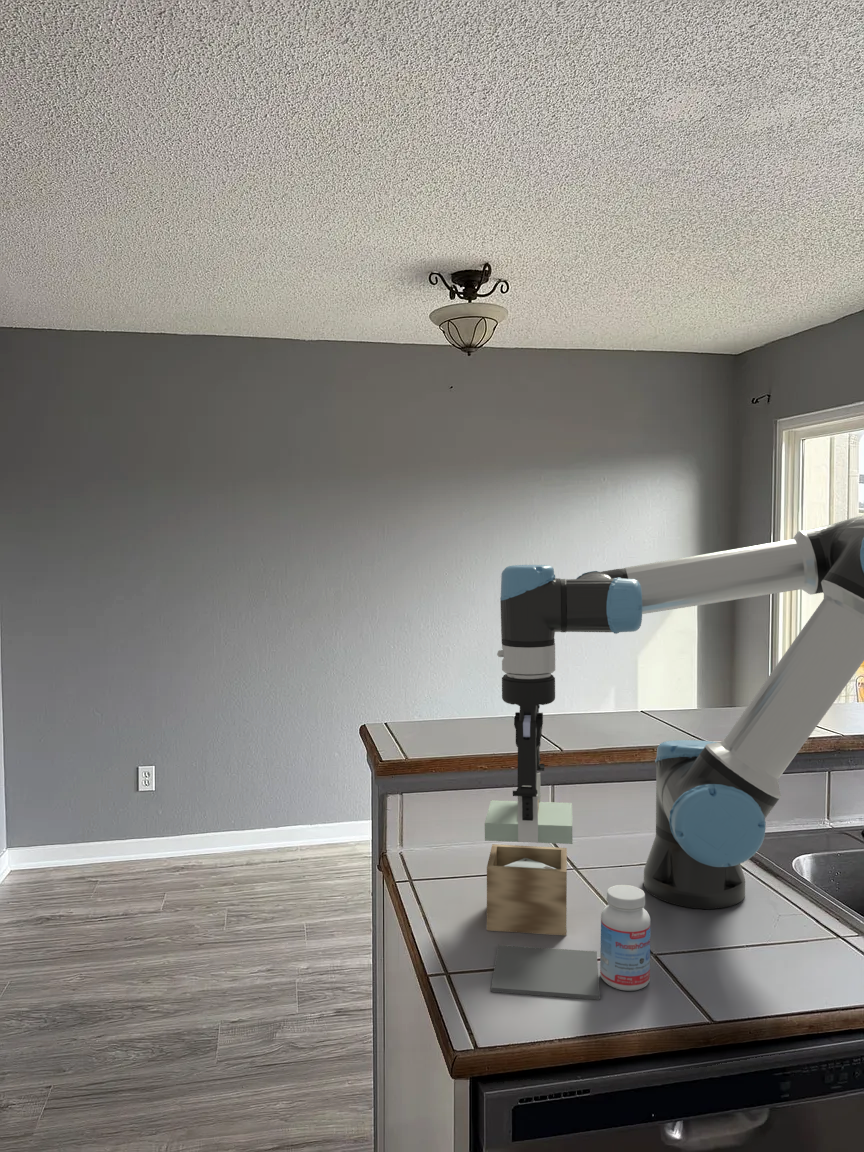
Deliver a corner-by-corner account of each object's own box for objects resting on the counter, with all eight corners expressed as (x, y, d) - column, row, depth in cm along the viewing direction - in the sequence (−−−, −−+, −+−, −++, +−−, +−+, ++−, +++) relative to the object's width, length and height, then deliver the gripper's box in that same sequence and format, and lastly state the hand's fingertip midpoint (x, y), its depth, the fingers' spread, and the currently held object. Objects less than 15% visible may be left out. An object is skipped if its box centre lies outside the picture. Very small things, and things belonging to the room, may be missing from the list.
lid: (572, 819, 131) (572, 796, 131) (572, 843, 121) (572, 818, 121) (491, 816, 133) (490, 793, 132) (484, 840, 123) (484, 815, 123)
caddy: (566, 907, 131) (566, 847, 131) (566, 935, 122) (566, 871, 122) (492, 902, 133) (492, 844, 132) (486, 930, 124) (486, 867, 123)
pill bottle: (619, 997, 107) (620, 906, 106) (590, 973, 112) (591, 886, 111) (660, 986, 109) (661, 897, 108) (630, 963, 115) (631, 878, 114)
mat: (596, 955, 117) (596, 951, 117) (599, 999, 106) (599, 995, 106) (498, 948, 119) (498, 944, 119) (491, 991, 108) (491, 987, 108)
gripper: (507, 661, 137) (509, 802, 138) (495, 688, 115) (497, 856, 116) (556, 661, 136) (557, 803, 137) (553, 689, 114) (555, 858, 115)
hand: (529, 827), depth 127 cm, fingers closed on lid, 10 cm apart
